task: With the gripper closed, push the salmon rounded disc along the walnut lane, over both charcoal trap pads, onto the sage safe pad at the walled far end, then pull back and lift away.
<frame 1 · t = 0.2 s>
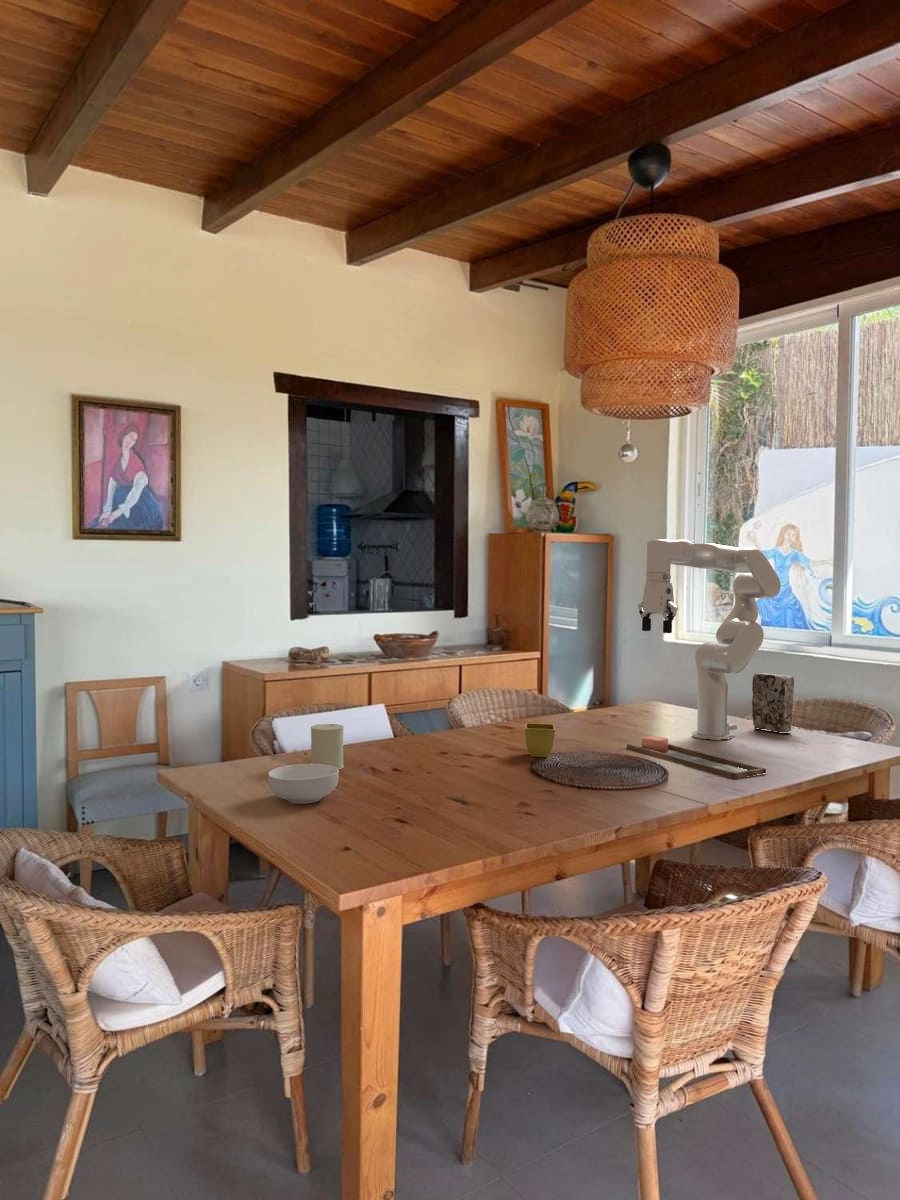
hand: (656, 631, 283), 36 cm above the table, tool pointing down, fingers open, 9 cm apart
can: (327, 768, 248), on the table
cereal bowl: (303, 800, 214), on the table
salmon rounded disc: (654, 749, 274), resting on trap lane
stone block: (771, 732, 307), on the table
flower pot: (539, 756, 265), on the table
trap lane: (691, 760, 260), on the table
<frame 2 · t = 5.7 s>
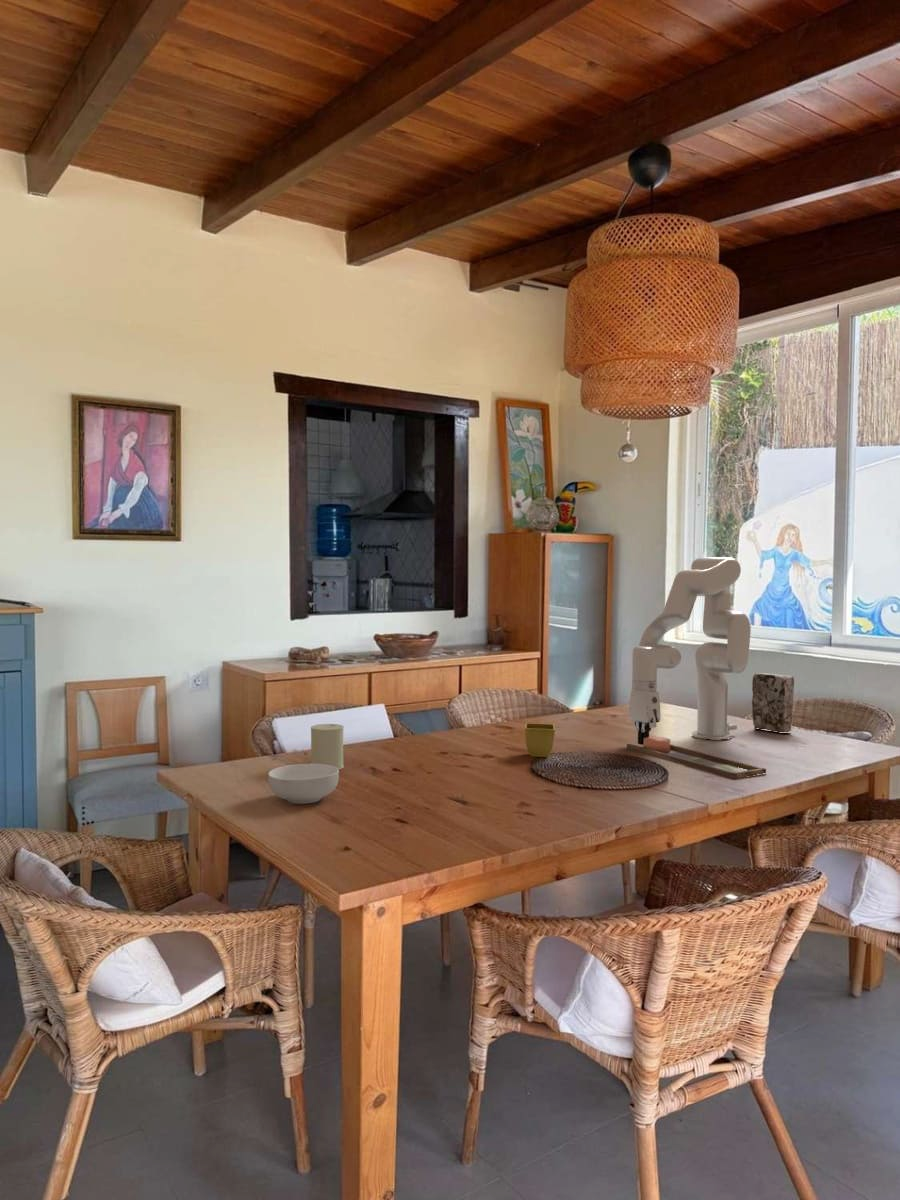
hand: (643, 743, 278), 1 cm above the table, tool pointing down, fingers closed
salmon rounded disc: (656, 750, 273), resting on trap lane
everything else where it was.
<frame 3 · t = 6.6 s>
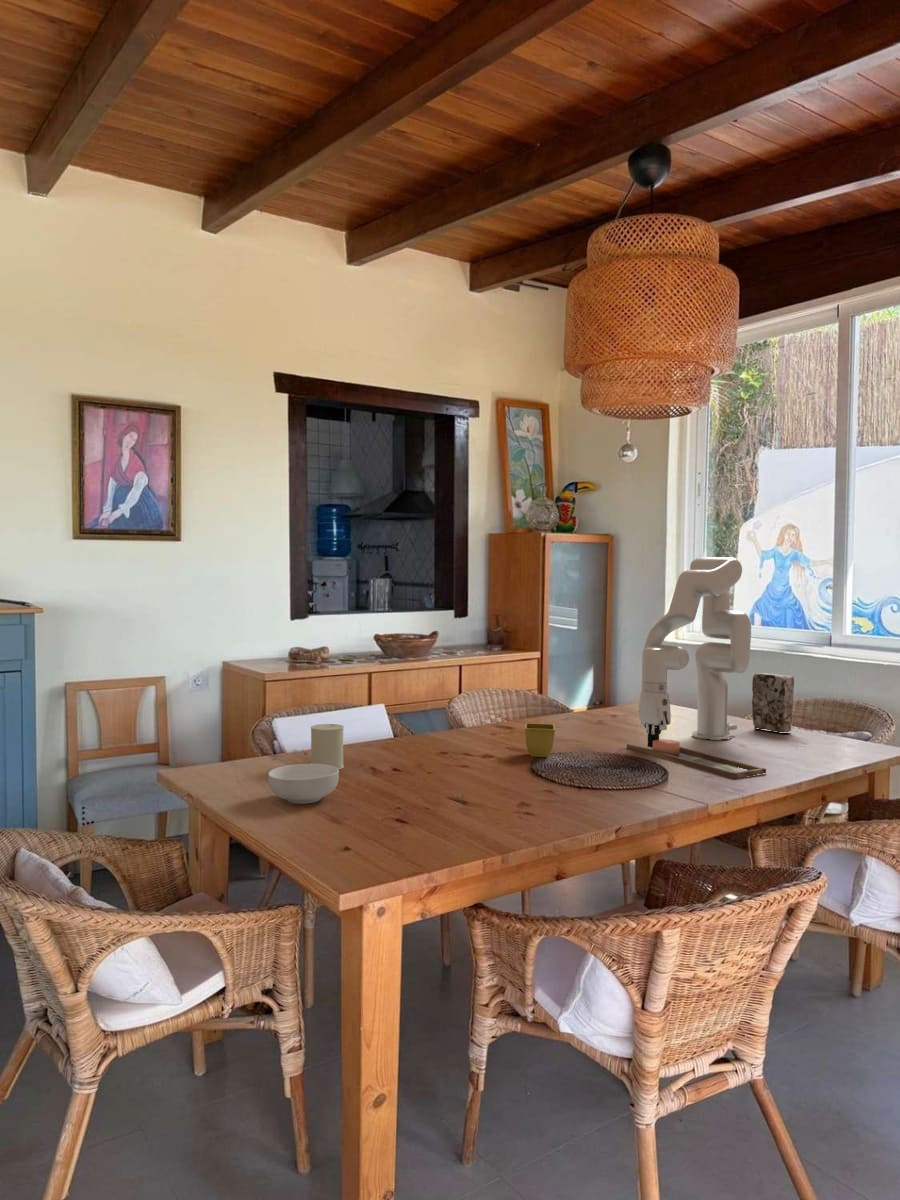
hand: (653, 746, 274), 1 cm above the table, tool pointing down, fingers closed
salmon rounded disc: (665, 753, 268), resting on trap lane, touching gripper
everything else where it was.
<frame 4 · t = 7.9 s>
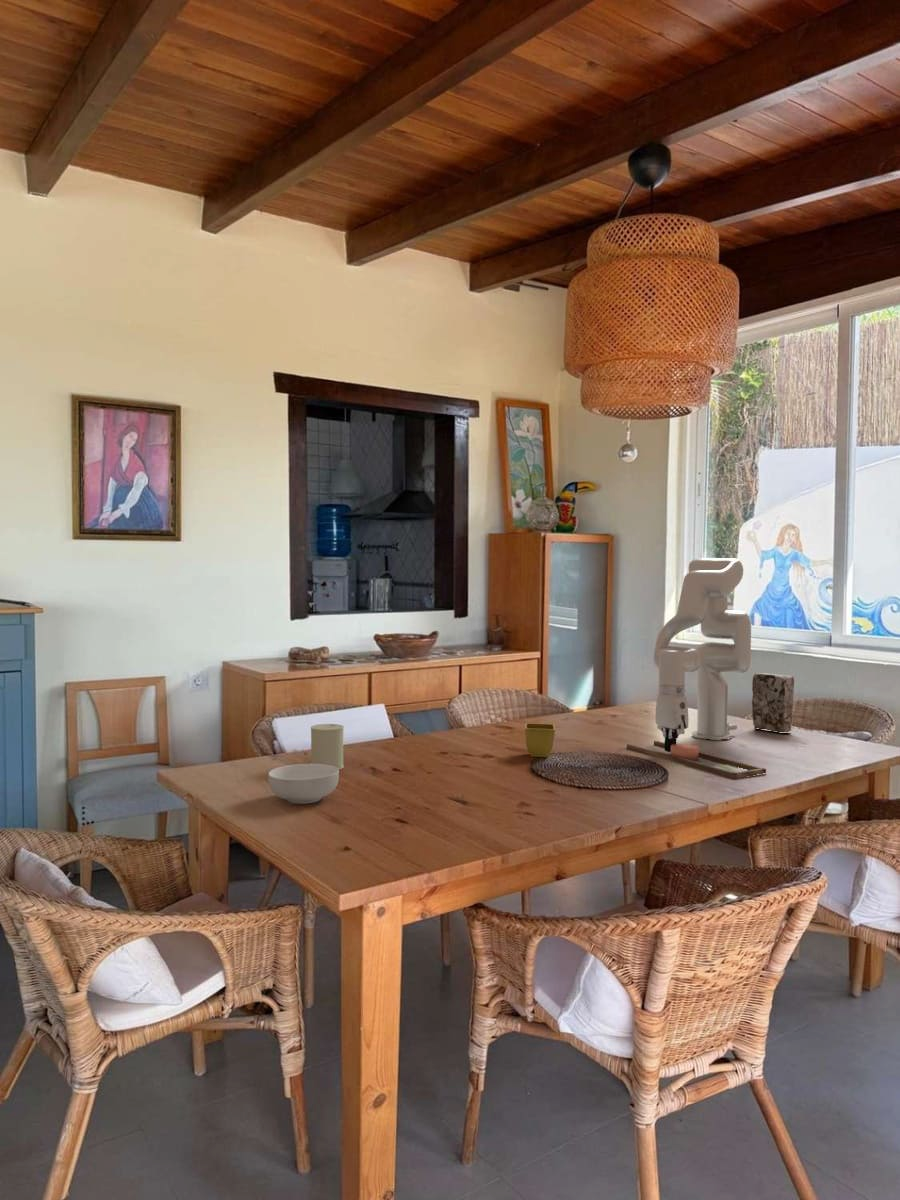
hand: (670, 750, 267), 1 cm above the table, tool pointing down, fingers closed
salmon rounded disc: (684, 758, 262), resting on trap lane, touching gripper
everything else where it was.
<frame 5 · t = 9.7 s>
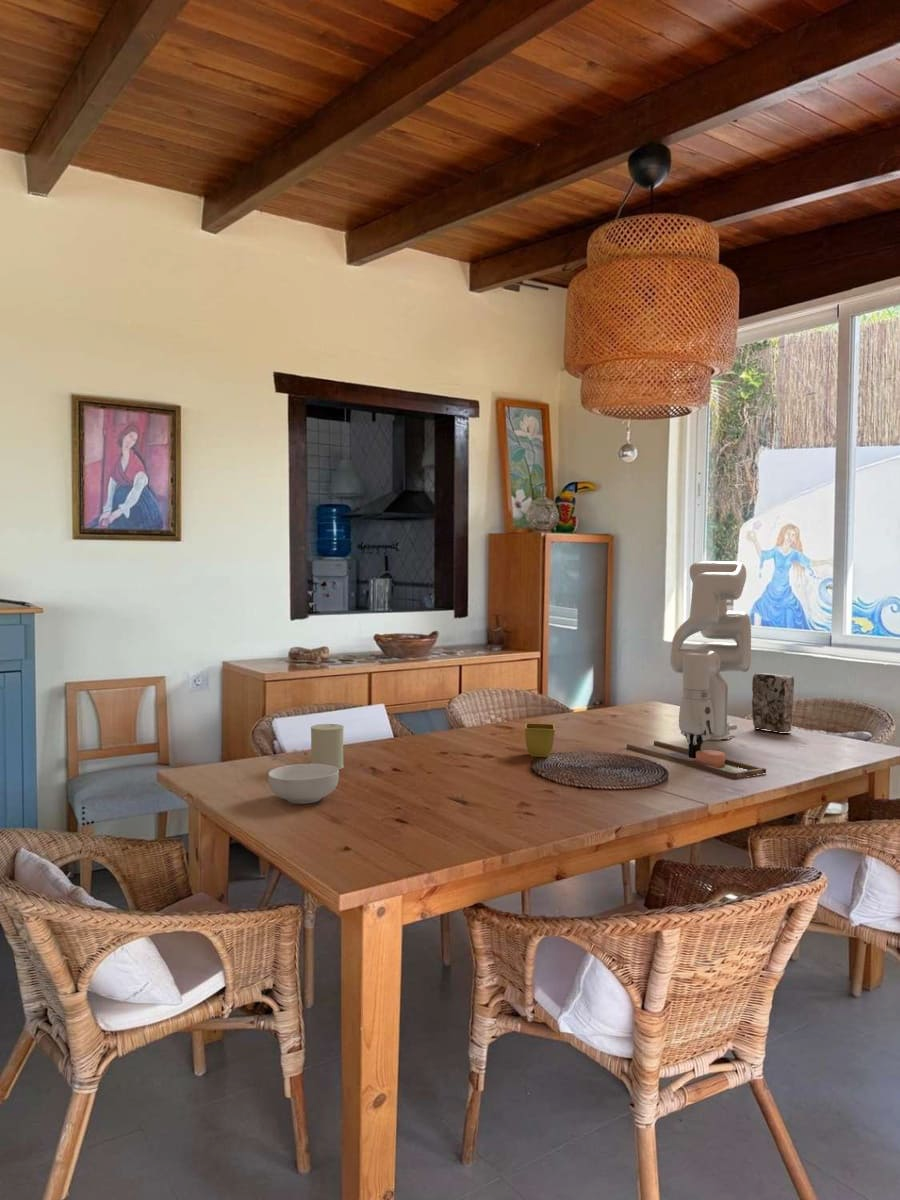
hand: (694, 757, 258), 1 cm above the table, tool pointing down, fingers closed
salmon rounded disc: (710, 765, 253), resting on trap lane, touching gripper
everything else where it was.
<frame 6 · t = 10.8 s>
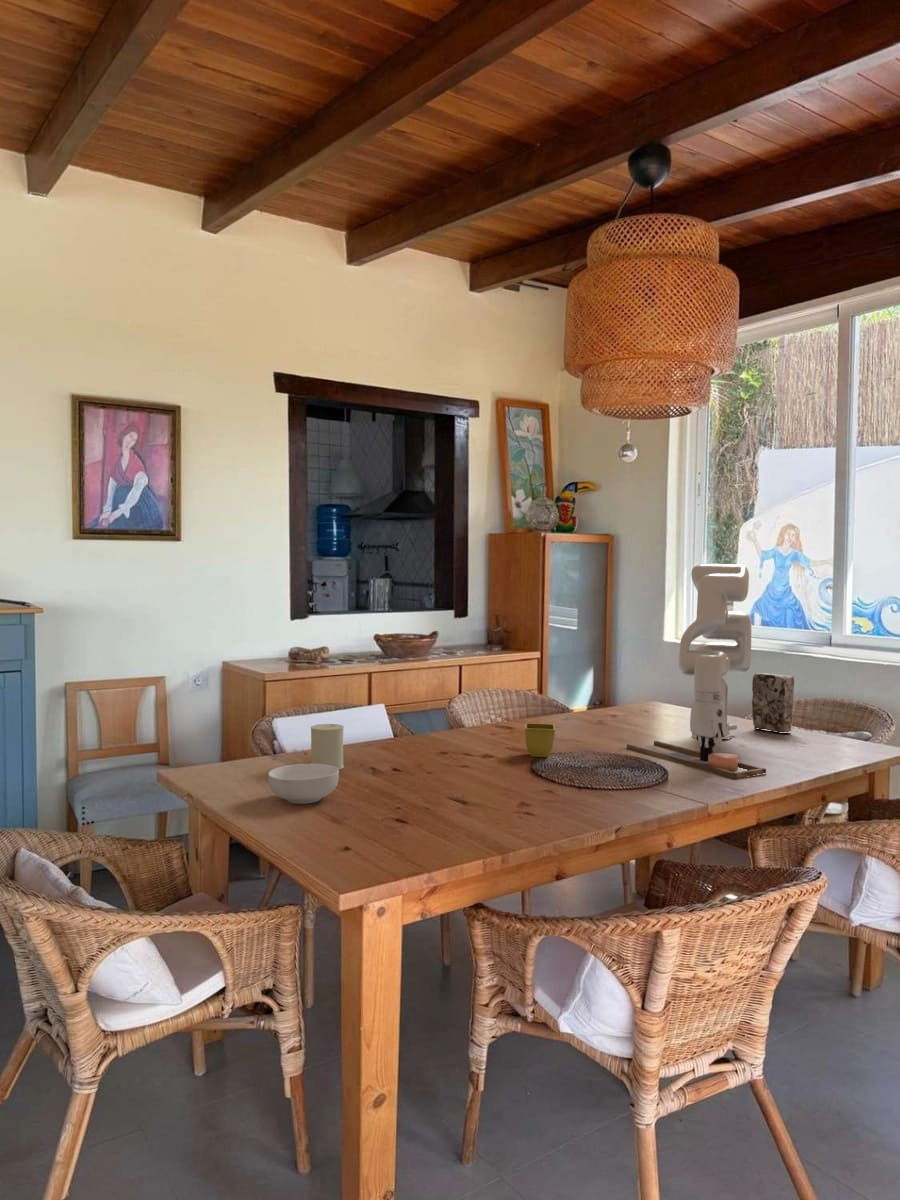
hand: (706, 760, 254), 1 cm above the table, tool pointing down, fingers closed
salmon rounded disc: (722, 768, 249), resting on trap lane, touching gripper
everything else where it was.
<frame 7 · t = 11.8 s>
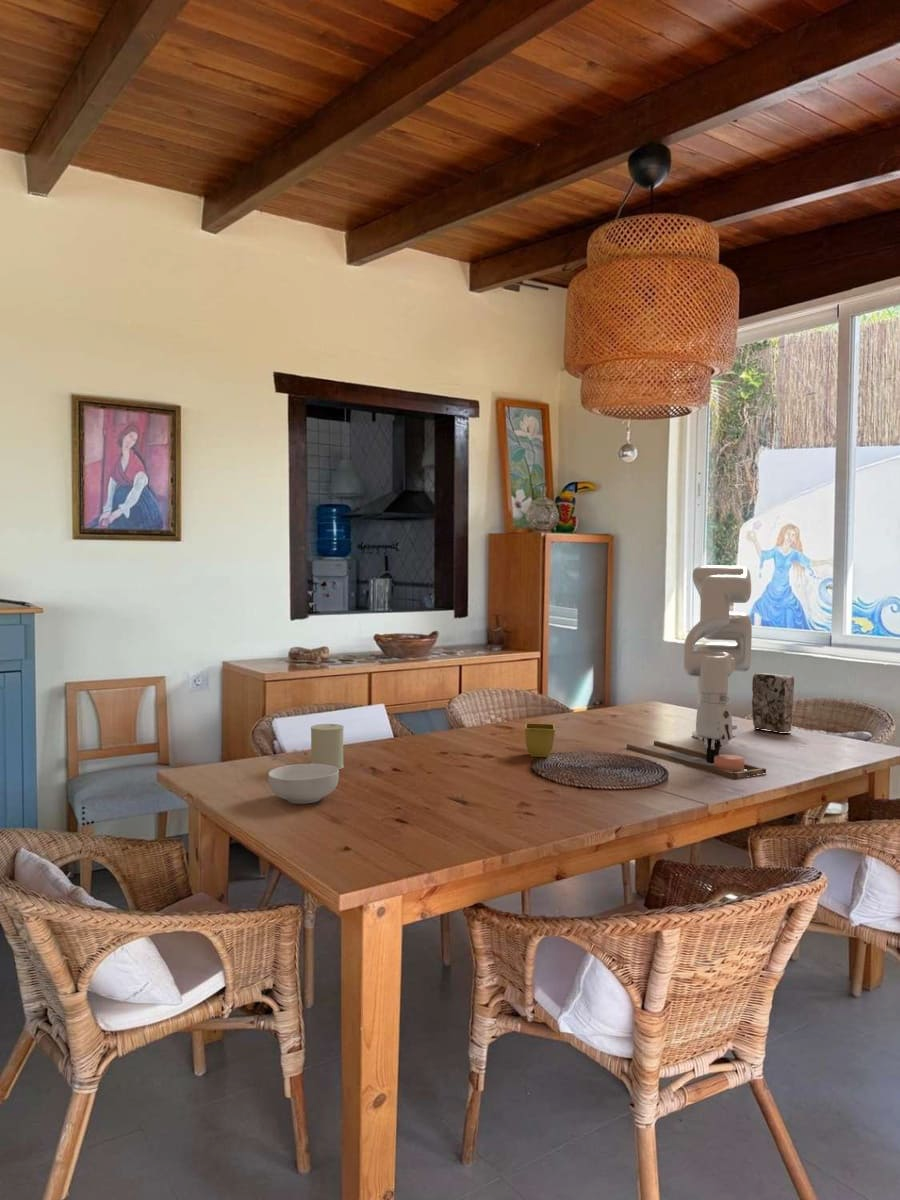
hand: (712, 762, 252), 1 cm above the table, tool pointing down, fingers closed
salmon rounded disc: (729, 770, 247), resting on trap lane
everything else where it was.
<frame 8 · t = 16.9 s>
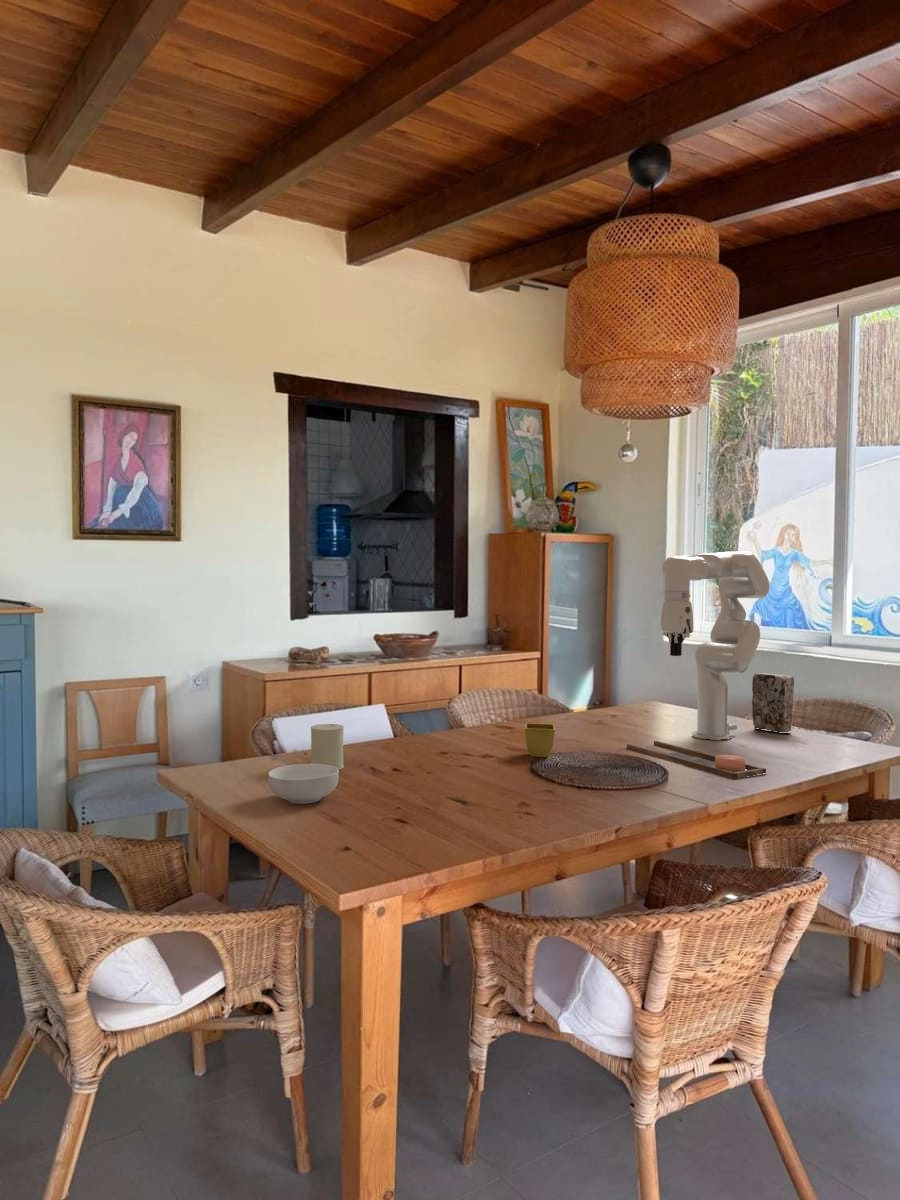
hand: (675, 655, 276), 29 cm above the table, tool pointing down, fingers closed
nothing on the table moved.
at the end: salmon rounded disc inside the target area (1.2 cm from its centre), resting on trap lane; salmon rounded disc tilted 0°; salmon rounded disc moved 30.6 cm from its start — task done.
